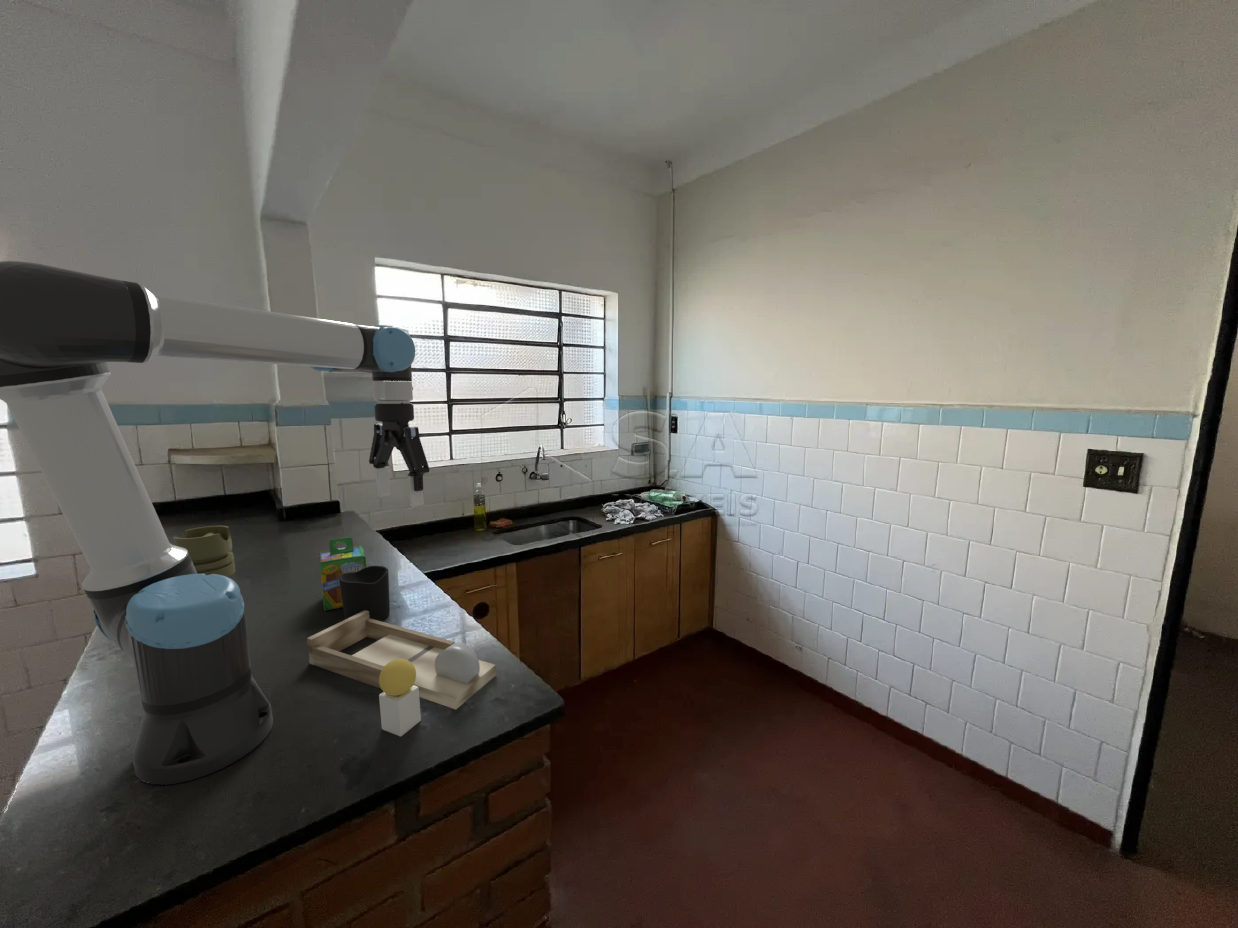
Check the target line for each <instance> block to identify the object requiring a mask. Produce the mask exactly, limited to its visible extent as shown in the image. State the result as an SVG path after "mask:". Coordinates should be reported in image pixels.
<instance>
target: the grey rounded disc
mask: <svg viewBox="0 0 1238 928" xmlns="http://www.w3.org/2000/svg"><path fill="white" fill-rule="evenodd" d="M479 660H480V659H479V658H478V655H477V653H476V652H475V651H474V650H473V649H472V647H470V646H469V645H467V644H466V643H464V642H455V643H454V644H452V645H451V646H449V647H448V648H446V649H445V650H443V651H442V652H441V653H439V654H438V655H437V657H436V659H435V671H436V674H437V675H439V676H442V677H445V678H448V679H451V680H454V681H458V682H461V683H464V684H467V683H469V682H470V681H471V680H472V679H473V678H475V677H476V676H477V675H478V674H479V671H480V664H479Z"/></svg>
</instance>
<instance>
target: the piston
mask: <svg viewBox="0 0 1238 928" xmlns="http://www.w3.org/2000/svg"><path fill="white" fill-rule="evenodd" d="M232 541H233V540H232V535H231V529H230V526H227V525H209V526H208V525H207V526H201V527H195V528H189V529H186V530H184V534H183V536H182V537H179V536H178V537H177V536H173V545H175V546H178V547H182V548H185V549H186V550H187V551H188V553H189V556H190V558H191V560H192V562H193V565H194V567H195V569H196V572H197V574H206V575H210V574H217V575H222V576H226V577H228V578H230V576H232V575H234V574H235V573H236V564H235V556H234V552H233V551H232V550H233V542H232Z"/></svg>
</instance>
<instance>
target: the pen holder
mask: <svg viewBox="0 0 1238 928" xmlns="http://www.w3.org/2000/svg"><path fill="white" fill-rule="evenodd" d="M389 579H390V578H389V569H388V567H385V566H383V565H382V566H381V565H369V566H366V568H363V569H361V570H359V571H357V572H354V573H344V574H341V575H340V576H339V582H340V589H341V596H342V603H343V607H342V609H343V615H344V620H346V619H348V618H350V617H352V616H354V615H356V614H358V613H360V612H362V611H364V610H366V611H369V616H370V619H374V620H378V621H381V622H383V620H385V619H386V618H387V617H388V616H389V614H390V581H389Z"/></svg>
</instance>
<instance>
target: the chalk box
mask: <svg viewBox="0 0 1238 928" xmlns="http://www.w3.org/2000/svg"><path fill="white" fill-rule="evenodd" d="M353 541H354V540H353V537H352V536H347V537H346V536H345V537H339V538H334V539H333V538H332V539H330V540H329V549H325V550H324V549H323V550H321V551H319V555H320V556H319V559H320V561H319V562H320V563H319V564H320V577H321V578H320V579H321V589H322V590H321V591H322V592H321V593H322V601H323V602H322V603H323V610H324V611H325V612H327V611H331V610H335V609H340V608H343V603H342V596H341V589H340V582H339V576H340V575H341V574H344V573H354V572H357V571H359V570H361V569H363V568H366V567H367V557H366V556H367V555H366V553H365V550H364V547H363V546H362V545H354V543H353ZM341 543H343V544H345V545H346V546H345V547H337V545H339V544H341Z"/></svg>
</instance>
